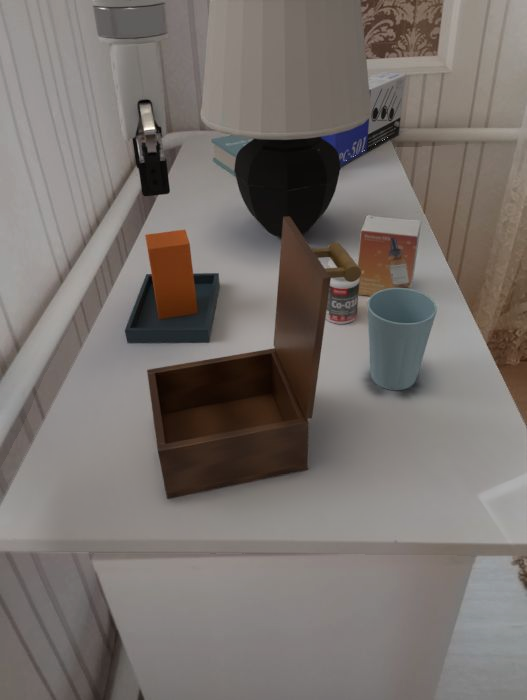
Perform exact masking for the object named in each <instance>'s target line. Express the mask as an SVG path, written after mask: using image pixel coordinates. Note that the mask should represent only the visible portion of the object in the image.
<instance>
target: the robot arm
mask: <svg viewBox="0 0 527 700" xmlns="http://www.w3.org/2000/svg"><path fill="white" fill-rule="evenodd" d="M91 3H92V9H93V15H94V21H95V26H96V33H97V39H98V42H99V43H102V44H108V45H109V57H110V65H111V73H112V80H113V86H114V93H115V94H114V95H115V99H116V100H115V101H116V106H117V112H118V119H119V123H120V130H121V136H122V139H123V140H124V141H126V142H130V139H132V146H133V152H134V160H135V166H136V168H137V169H138V174H139V181H140V187H141V194H142V196H143V197H152V196H153V197H154V196H163V195H169V194H170V193H171V188H170V177H169V172H168V163H167V161H168V160H167V158H165V152H164V146H163V140H162V139H164V138H165V137H166V135H167V118H166V105H165V91H164V90H165V89H164V81H163V71H162V70H163V69H162V62H161V53H160V44H159V42H162V41H165V40H167V39H169V37H170V36H169V35H170V33H169V25H168V15H167V5H166V0H91Z"/></svg>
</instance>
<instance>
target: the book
mask: <svg viewBox="0 0 527 700" xmlns="http://www.w3.org/2000/svg"><path fill="white" fill-rule="evenodd" d="M252 140H253V138H244V137H237V136H233V135H226V136H219V137H216V138H211V143H212V144H213V153H214V157H213V158H212V161H213V162H214V163H216V165H218V166H220V167H222V169H224V170H225V171H226V172H228V173H230V174H231V175H232V176H234V177H235V178H236V174H235V172H234V169H235V160H236V156H237V154H238V152H239V151H240V149H241V148H242V147H243V146H245V145H246V144H247V143H249V142H250V141H252Z"/></svg>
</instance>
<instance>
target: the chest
mask: <svg viewBox="0 0 527 700" xmlns="http://www.w3.org/2000/svg"><path fill="white" fill-rule="evenodd" d="M146 373H147V380H148V381H147V382H148V388H149V396H150V403H151V410H152V417H153V425H154V433H155V439H156V440H155V441H156V447H157V454H158V459H159V464H160V465H159V466H160V470H161V474H162V479H163V485H164V489H165V494H166V498H167V499H173V498H177V497H183V496H187V495H192V494H196V493H203V492H207V491H211V490H215V489H220V488H226V487H231V486H236V485H241V484H245V483H250V482H254V481H260V480H264V479H265V480H266V479H269V478H274V477H278V476H283V475H289V474H293V473H298V472H299V473H300V472H304V471H307V470H309V431H310V430H309V428H310V427H309V426H310V425H309V420H308V419H305V416H304V414H303V412H302V409H301V407H300V405H299V402H298V400H297V398H296V396H295V393H294V391H293V389H292V386H291V384H290V382H289V379H288V377H287V375H286V372H285V370H284V368H283V366H282V363H281V361H280V359H279V356H278V354H277V352H276V349H275V347H274V348H268V349H261V350H256V351H250V352H245V353H239V354H233V355H226V356H220V357H214V358H209V359H203V360H196V361H192V362H184V363H180V364H173V365H168V366H161V367H156V368H151V369H150V368H149V369H146Z"/></svg>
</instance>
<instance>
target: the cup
mask: <svg viewBox="0 0 527 700" xmlns="http://www.w3.org/2000/svg"><path fill="white" fill-rule="evenodd" d="M366 307H367V308H366V309H367V311H366V312H367V324H368V325H367V326H368V348H369V349H368V350H369V369H370V370H369V371H370V379H371V380H372V382H374V384H375V385H377V386H378V387H380V388H382V389H385V390H387V391H388V390H389V391H403V390H407V389H410V388H411V387H412V386H414V384H415V383H416V381H417V378H418V375H419V371H420V369H421V365H422V361H423V358H424V354H425V352H426V347H427V345H428V341H429V338H430V334H431V331H432V328H433V325H434V321H435V318H436V315H437V311H438V306H437V303H436V302H435V300H434V299H433V298H432V297H430V296H429V295H427V294H426V293H424V292H422V291H419V290H416V289H413V288H411V289H407V288H389V289H384V290H381V291H378V292H376V293H374V294H373V295H372V296H369V298H368V299H367V302H366Z"/></svg>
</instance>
